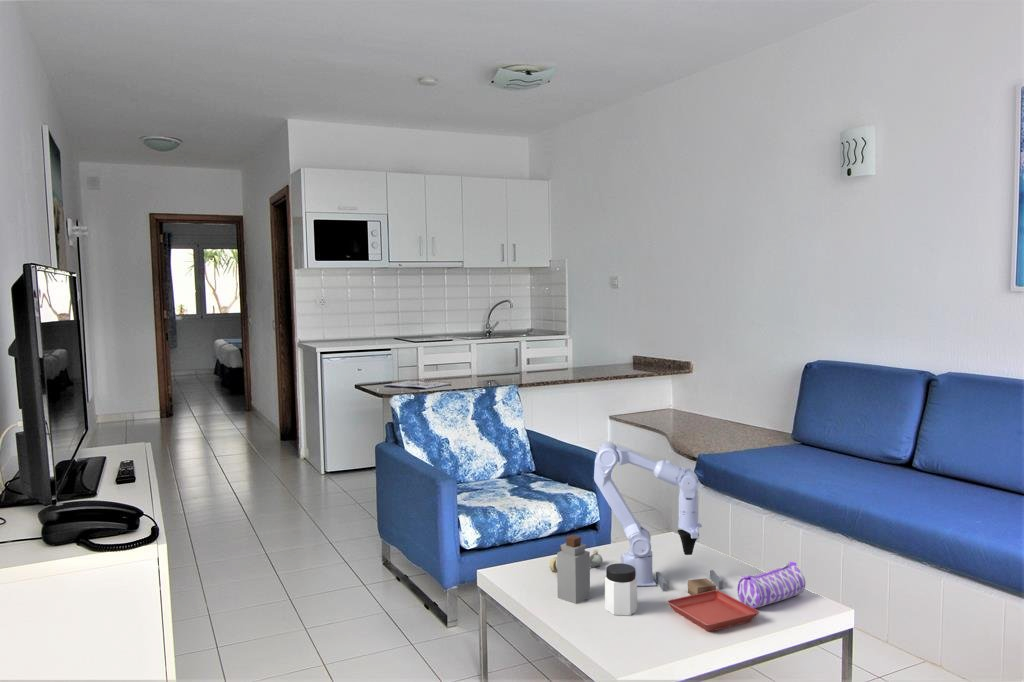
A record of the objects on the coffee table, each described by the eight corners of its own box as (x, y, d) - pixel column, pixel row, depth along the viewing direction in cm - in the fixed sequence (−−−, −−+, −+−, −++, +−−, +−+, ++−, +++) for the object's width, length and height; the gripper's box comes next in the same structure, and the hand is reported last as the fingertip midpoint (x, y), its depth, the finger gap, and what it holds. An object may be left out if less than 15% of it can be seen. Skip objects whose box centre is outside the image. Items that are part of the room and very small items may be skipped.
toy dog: (606, 566, 253) (606, 539, 252) (576, 584, 238) (576, 555, 237) (574, 558, 260) (574, 532, 259) (543, 575, 245) (543, 547, 244)
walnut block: (697, 601, 223) (697, 587, 223) (687, 593, 229) (687, 580, 229) (716, 598, 225) (716, 585, 224) (706, 591, 230) (706, 578, 230)
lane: (663, 591, 230) (663, 583, 230) (655, 579, 239) (655, 572, 239) (722, 589, 231) (722, 581, 231) (713, 577, 240) (713, 570, 240)
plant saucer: (665, 611, 217) (665, 600, 217) (716, 599, 225) (716, 588, 224) (707, 637, 201) (707, 625, 200) (761, 623, 208) (761, 611, 208)
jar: (642, 613, 215) (642, 570, 214) (617, 618, 212) (617, 576, 211) (624, 601, 223) (624, 560, 222) (600, 606, 220) (599, 565, 219)
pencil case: (782, 586, 233) (782, 556, 232) (809, 596, 225) (809, 564, 225) (733, 604, 220) (733, 572, 220) (761, 615, 213) (761, 582, 212)
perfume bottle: (590, 596, 227) (589, 536, 226) (575, 603, 222) (575, 542, 221) (572, 590, 232) (571, 532, 230) (557, 597, 227) (557, 537, 225)
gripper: (708, 517, 227) (708, 562, 228) (694, 503, 242) (694, 545, 242) (684, 517, 227) (684, 562, 228) (672, 503, 241) (671, 546, 242)
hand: (688, 554), depth 235 cm, fingers closed
